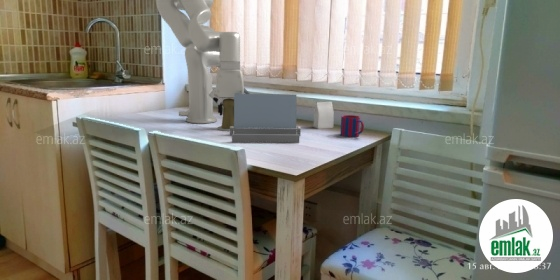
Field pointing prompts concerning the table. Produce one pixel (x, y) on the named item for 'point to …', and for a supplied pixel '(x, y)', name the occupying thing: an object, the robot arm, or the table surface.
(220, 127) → the pad
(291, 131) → the bar
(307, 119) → the table surface
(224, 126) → the cork
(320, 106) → the white printed box
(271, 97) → the panel
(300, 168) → the table surface
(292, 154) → the table surface
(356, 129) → the mug
